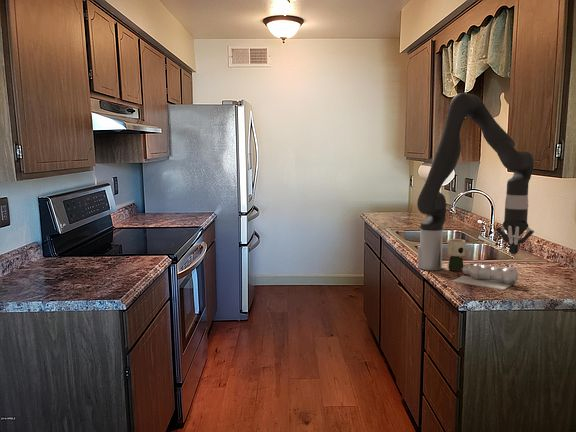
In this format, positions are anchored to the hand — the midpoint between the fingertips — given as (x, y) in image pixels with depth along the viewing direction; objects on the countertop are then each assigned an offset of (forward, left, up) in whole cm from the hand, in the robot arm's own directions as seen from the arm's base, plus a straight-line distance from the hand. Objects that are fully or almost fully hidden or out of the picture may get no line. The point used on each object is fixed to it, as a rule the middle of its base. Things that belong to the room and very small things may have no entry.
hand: (513, 254), depth 175 cm
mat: (-11, 0, -13) cm, 17 cm away
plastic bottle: (+1, +3, -9) cm, 10 cm away
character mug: (-26, +13, -13) cm, 32 cm away
